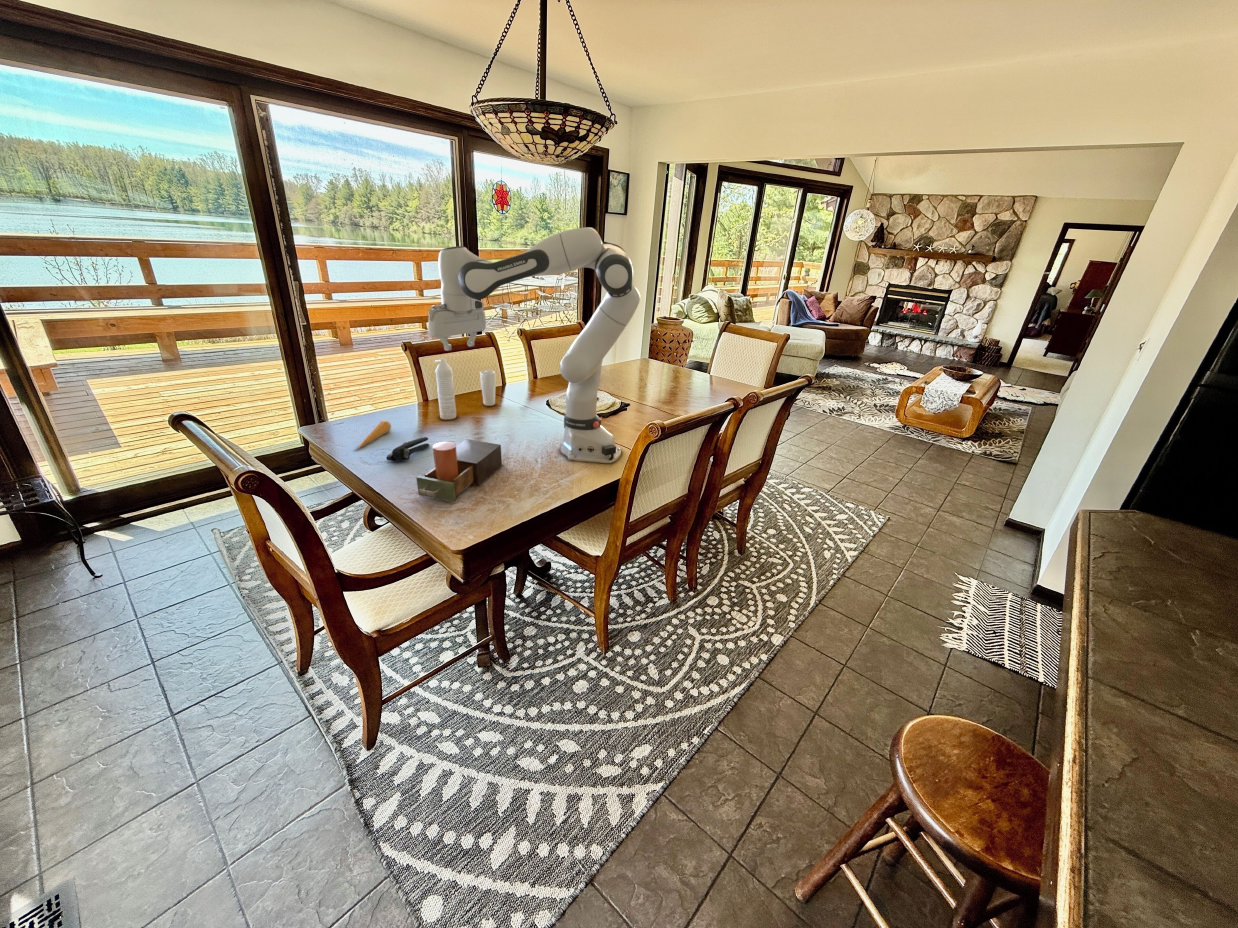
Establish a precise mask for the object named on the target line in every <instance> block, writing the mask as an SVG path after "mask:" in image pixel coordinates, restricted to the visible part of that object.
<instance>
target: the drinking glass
mask: <svg viewBox="0 0 1238 928" xmlns="http://www.w3.org/2000/svg"><path fill="white" fill-rule="evenodd" d="M479 383H480V389H481V395H482V403H483V405H484V406H487V407H491V406H494V405H496V390H497V389H496V388H497V387H496V386H497V376H496V371H495V370H489V369H488V370H486V369H485V370H481V371H479Z"/></svg>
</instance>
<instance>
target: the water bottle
mask: <svg viewBox="0 0 1238 928" xmlns="http://www.w3.org/2000/svg"><path fill="white" fill-rule="evenodd" d="M434 364H436V365H437V366H436V368H435V369H434V370H435V371H434V372H435V379H436V380H435V381H436V390H437V399H438V410H439V417H440V419H442V420H445V421H448V420H449V421H450V420H454V419H456V418H457V407H456V405H457V404H456V395H455V388H454V386H455V384H454V375H453V374H454V373H453V369H452V367H451V365H450V364H449V363H448V361H447V359H446V357H440V358H439V359H435V360H434Z"/></svg>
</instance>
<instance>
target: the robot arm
mask: <svg viewBox="0 0 1238 928" xmlns="http://www.w3.org/2000/svg"><path fill="white" fill-rule="evenodd" d="M632 264H633V263H632V261H631V259H630V256H629V255H628V254H627V252H626V251H625V250H624V249H623V247H622V246H619V245H618V244H615V243H612V242H607V241H604V240H602V238H601V236H600V234H599V232H598V231H597V230H596V229H595V228H594V227H590V226H589V227H588V226H587V227H577V228H571V229H568V230H563V231H560V232H557V233H554V234H552V235H549V236H547V237H545V238H543V239H541V240H540V241H538V242H537V243H535V244H534V245H532V246H531V247H530V248H528V249H526V250H525V251H523V252H521V253H519V254H517V255H514V256H511V257H508V258H504V259H501V260H497V261H494V262H492V261H490V260H487V259H485V258H482V257H480V256H478V255H476V254H474V253H473V252H472V251H470V250H469V249H468V248H467V247H466V246H462V245H458V246H457V245H456V246H448V247H443V248H442V249H441V250H440V251H439V253H438V276H439V280H440V282H441V283H440V284H441V285H440V288H441V289H440V300H441V302H440V303H441V304H434V305H432V306H431V307H430V308H429V309H428V326H427V327H428V334H429V335H430V336H431V337H432V338H439V340H440V342H441V343H442V345H443V350H444V351H447V352H448V351H452V344H450V343H449V342H448V340H449V337H453V336H459V335H465V334H468V335H469V338H468V340H466V342H467V343H466V345H467V346H468V347H474V346H475V341H476V338H477V336H478V332H484V331H485V330H486V327H487V321H486V312H485V310H484V308H485V302H484V301H482V300H483V299H486V298H487V297H489V296H490V295H492V294H493V293H495V292H496V291H497V290H498V289H499V288H500V287H502V286H504V285H507V284H510V283H514V282H516V281H519V280H522V279H526V278H530V277H542V276H543V277H544V276H545V277H546V276H555V275H561V274H566V273H570V272H573V271H576V270H580V269H581V268H582V269H584V268H585V269H586V268H588V269H593V270H594V272H595V275H596V276H597V278H598V281H599V283H600V285H601V286H602V287H603V289H604V290H605V291H606V292H605V295H604V297H603V299H602V300H601V302H600V303H599V304H598V305H597V308H596V309H595V311H594V312H593V314H592V316H591V317H590V319H589V320H588V322H587V323H586V325H585V326H584V327H583V329H582V330H581V332H580V333H579V334H578V335H577V336H576V338H575V340H574V341H573V343H572V344H571V345H570V347H568V349H567V351H566V352H565V354H564V355H563V357H562V358H561V360H560V363H559V372H560V375H561V376H562V378H563V379H564V380H565V381H567V382H568V385H567V388H566V392H565V413H564V414H563V415H564V417H563V428H564V433H563V439H562V443H561V447H560V452H561V453H562V454H563V455H564V456H566V457H567V459H568V460H569V461H577V462H589V463H600V464H601V463H602V464H613V463H614V462H616V461H617V460H619V458H620V457H621V455H622V450H621V449H622V448H621V447H619V446H618V445H616V439H615V437H614V435H613V434H612V433H611V432H609V431H608V430H607V429H606V428H605V427H604V426H602V421H603V416H598V415H597V404H598V400H597V399H598V391H599V386H600V379H601V373H602V367H603V360H604V358H605V357H606V355H607V354H608V353H609V351H610V350H611V349H612V348H613V346H614V345H615V344H616V342H617V341H618V339H619V338H620V336H621V335H622V333H623V332H624V330H625V329H626V327H627V326H628V324H629V323H630V322H631V320H632V319H633V316H634V314H635V313H636V311H637V309H638V307H639V304H640V302H641V294H640V292H639V290H638V288H637V287H636V286H635V285H634V284H633V281H634V280H633V279H634V268H633V265H632Z"/></svg>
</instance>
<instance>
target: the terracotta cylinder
mask: <svg viewBox="0 0 1238 928" xmlns="http://www.w3.org/2000/svg"><path fill="white" fill-rule="evenodd" d="M456 446H457V444H456V443H455V442H453V441H440V442H436V443H434V444H433V445H432V453H433V461H434V468H435V471H436V479H439V480H444V481H449V482H452V480H453V479H454V478H456V477H457V476H458V475H459V473H458V462H457V451H456Z"/></svg>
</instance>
